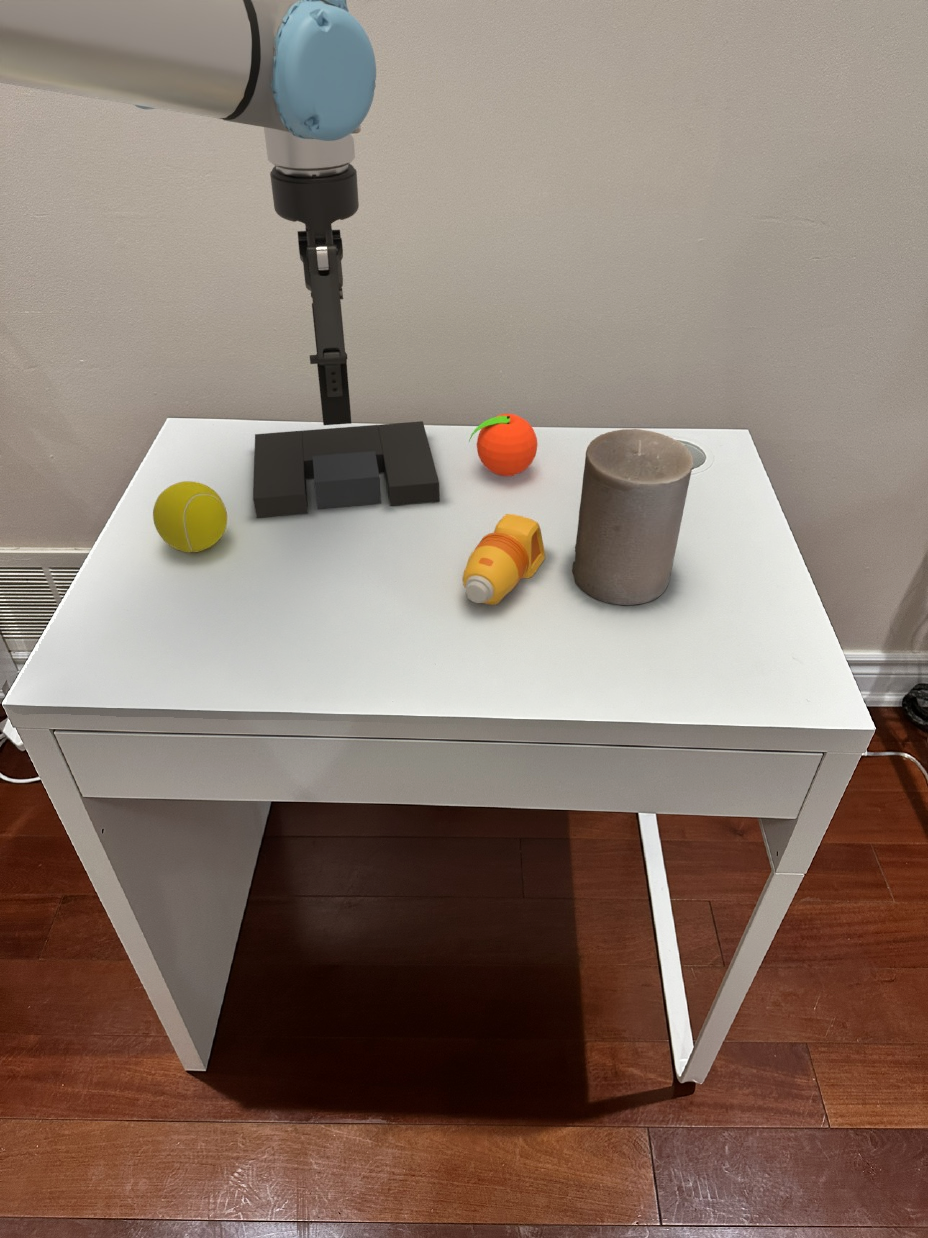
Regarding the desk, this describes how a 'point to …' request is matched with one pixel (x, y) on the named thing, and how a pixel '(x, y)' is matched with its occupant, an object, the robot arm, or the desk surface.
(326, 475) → the dark grey rectangular block
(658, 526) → the pillar candle
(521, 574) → the yellow toy drill
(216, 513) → the tennis ball
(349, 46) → the robot arm
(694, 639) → the desk surface
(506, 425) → the clementine
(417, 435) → the black u-shaped block
